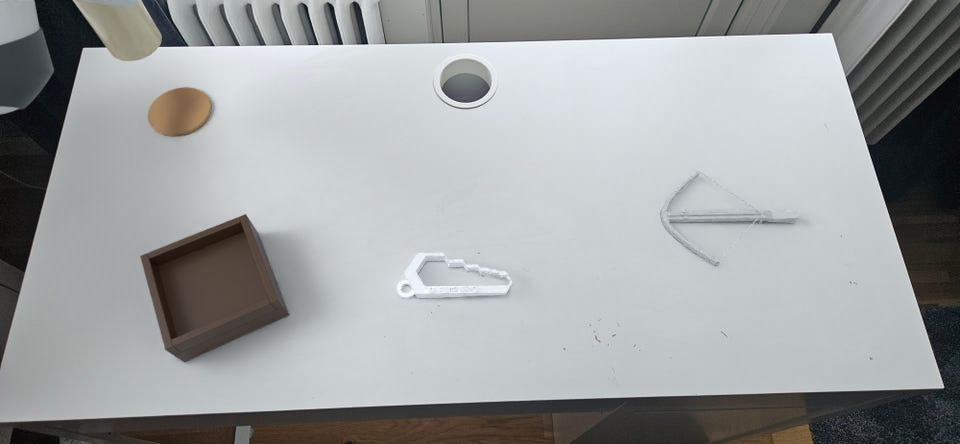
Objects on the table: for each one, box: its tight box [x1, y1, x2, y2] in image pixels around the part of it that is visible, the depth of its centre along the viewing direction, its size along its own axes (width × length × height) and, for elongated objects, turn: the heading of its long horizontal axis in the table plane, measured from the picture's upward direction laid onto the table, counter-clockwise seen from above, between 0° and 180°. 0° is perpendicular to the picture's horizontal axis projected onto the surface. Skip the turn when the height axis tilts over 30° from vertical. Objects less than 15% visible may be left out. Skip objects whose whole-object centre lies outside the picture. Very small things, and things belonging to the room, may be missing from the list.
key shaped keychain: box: [396, 252, 513, 300], centre depth 67 cm, size 13×5×2 cm, turn 91°
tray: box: [140, 213, 290, 363], centre depth 64 cm, size 12×12×4 cm
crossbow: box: [660, 170, 799, 266], centre depth 72 cm, size 16×13×2 cm
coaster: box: [147, 87, 212, 137], centre depth 79 cm, size 8×8×1 cm
